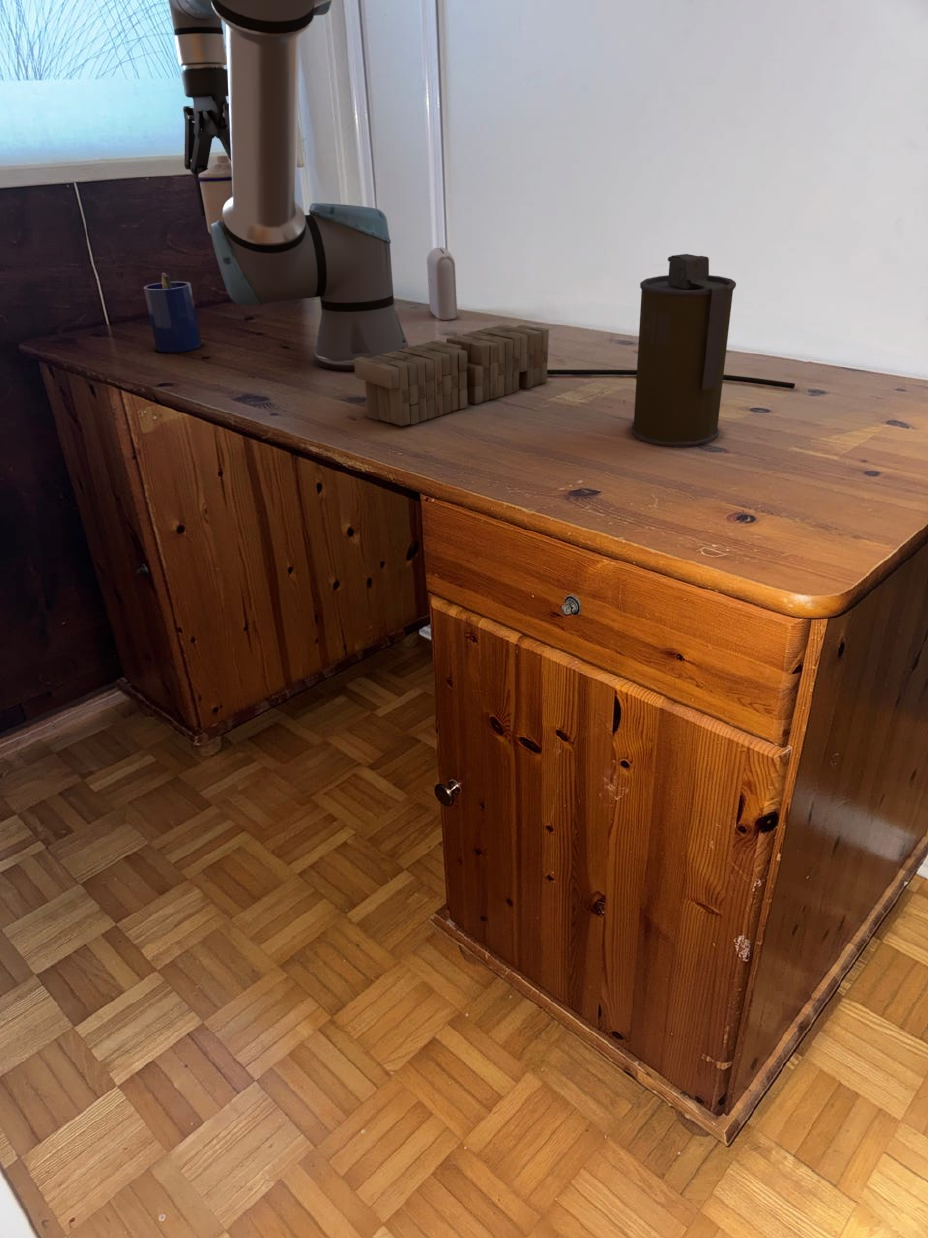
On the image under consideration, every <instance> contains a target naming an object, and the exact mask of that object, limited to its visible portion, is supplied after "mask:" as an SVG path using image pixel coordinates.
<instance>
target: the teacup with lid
mask: <svg viewBox="0 0 928 1238" xmlns="http://www.w3.org/2000/svg"><path fill="white" fill-rule="evenodd" d="M207 168H208V169H207V170H206V171H204V172H202V173H200V174H199V175H198V177H199V178H198V181H200V186H201V191H202V197H203V203H204V209H205V215H206V216H205V220H206V226H207V231H208V233H209V235H211V225H212V224H213V223H215V222H217V221H221V222H223V207H224V205H225V203H226V202H227V201H228V200H229V199H230V198H231V197H233V188H232V163H231V162H230V159H229V157H228V155H217V156H216V163H213V164H211V165H210V166H209V167H207Z"/></svg>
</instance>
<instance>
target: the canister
mask: <svg viewBox="0 0 928 1238" xmlns="http://www.w3.org/2000/svg"><path fill="white" fill-rule="evenodd" d="M667 261H668V263H669V265H668V274H667V275H659V276H653V277H648V278H645V279H644V280H642V281H640V284H639V288H640V290H641V292H640V293H641V295H640V296H641V297H640V308H639V309H640V312H639V313H640V314H639V329H638V347H637V362H636V370H637V375H636V379H635V394H634V413H633V414H634V415H633V425H631V426H632V427H631V429H630V432H631V434H632V436H633V437H634V438H636V439H637V440H639V441H642V442H644V443H646V444H647V443H648V444H651V445H654V446H659V447H669V448H679V447H680V448H684V447H696V446H702V445H705V444H709V443H711V442H713V441H715V440H716V439H717V438H718V437H719V435H720V430H719V428H718V427H719V418H720V409H721V400H722V391H723V382H724V380H723V375H725V374H724V373H725V366H726V356H727V355H726V354H727V347H728V338H729V329H730V321H731V320H730V319H731V312H732V311H731V310H732V303H733V294H734V290H735V289H736V288H737V283H736V281H735V280H733V279H732V278H728V277H724V276H720V275H710V258H709V257H708V256H705V255H695V254H689V253H682V254H674V255H671V256H670V255H669V256H668V257H667Z"/></svg>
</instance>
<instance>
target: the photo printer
mask: <svg viewBox="0 0 928 1238" xmlns="http://www.w3.org/2000/svg"><path fill="white" fill-rule="evenodd" d="M426 267H427V285H428V299H429V310H430V313H431V314H432V315H433V316H434V317H436V318H437V319H439V320H441V321H449V320H455V319H456V318H457V317H458V299H457V279H456V277H457V276H456V262H455V259H454V257H453V254H451V252H450V251H449V250H448V249H447V248H445V247H443V246H441V247H434V248H433V249H431V250H430V251H429V253H428V255H427V257H426Z"/></svg>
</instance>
